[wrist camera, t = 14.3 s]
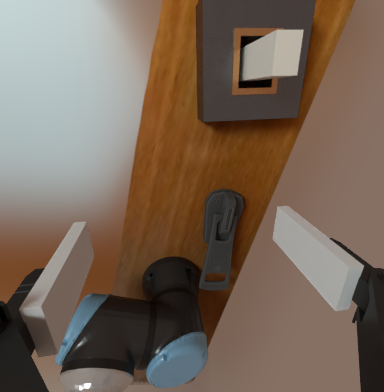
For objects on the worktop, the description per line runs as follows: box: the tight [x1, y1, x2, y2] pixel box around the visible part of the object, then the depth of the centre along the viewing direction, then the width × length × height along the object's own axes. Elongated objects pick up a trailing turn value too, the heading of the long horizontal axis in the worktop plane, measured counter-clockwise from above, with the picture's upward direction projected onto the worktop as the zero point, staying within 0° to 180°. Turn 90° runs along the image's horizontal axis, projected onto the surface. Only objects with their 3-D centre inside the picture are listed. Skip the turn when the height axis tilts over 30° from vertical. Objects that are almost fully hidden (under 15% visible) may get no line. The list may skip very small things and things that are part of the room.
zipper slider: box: [199, 189, 244, 290], centre depth 55 cm, size 9×7×25 cm
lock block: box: [196, 0, 316, 122], centre depth 41 cm, size 18×18×6 cm
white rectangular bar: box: [239, 30, 304, 82], centre depth 36 cm, size 5×4×16 cm
